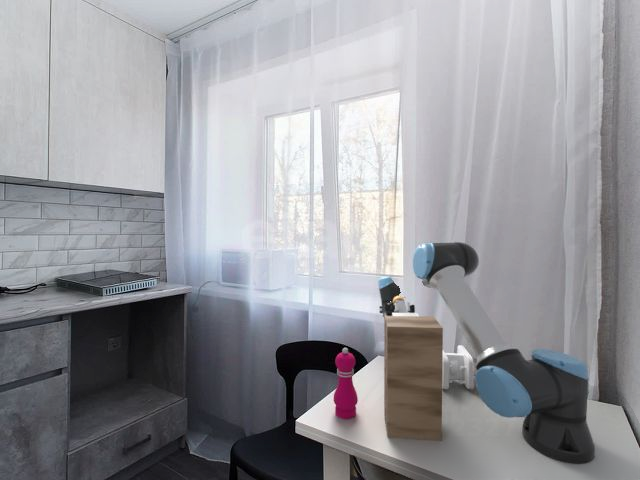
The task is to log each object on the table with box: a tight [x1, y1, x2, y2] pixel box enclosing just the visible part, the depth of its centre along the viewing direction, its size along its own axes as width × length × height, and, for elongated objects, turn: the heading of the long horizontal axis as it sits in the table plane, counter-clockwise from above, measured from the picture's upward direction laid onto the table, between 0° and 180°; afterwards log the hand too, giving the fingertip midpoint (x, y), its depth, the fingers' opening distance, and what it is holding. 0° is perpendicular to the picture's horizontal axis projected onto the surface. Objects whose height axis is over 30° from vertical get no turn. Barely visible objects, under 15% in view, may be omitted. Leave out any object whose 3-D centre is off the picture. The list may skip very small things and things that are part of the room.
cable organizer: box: [442, 345, 475, 390], centre depth 117 cm, size 15×11×12 cm
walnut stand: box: [383, 316, 444, 441], centre depth 92 cm, size 10×14×30 cm
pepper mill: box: [333, 347, 359, 420], centre depth 99 cm, size 7×7×20 cm
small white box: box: [392, 296, 420, 317], centre depth 111 cm, size 23×8×4 cm, turn 174°
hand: (403, 306), depth 111 cm, fingers closed on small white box, 3 cm apart
